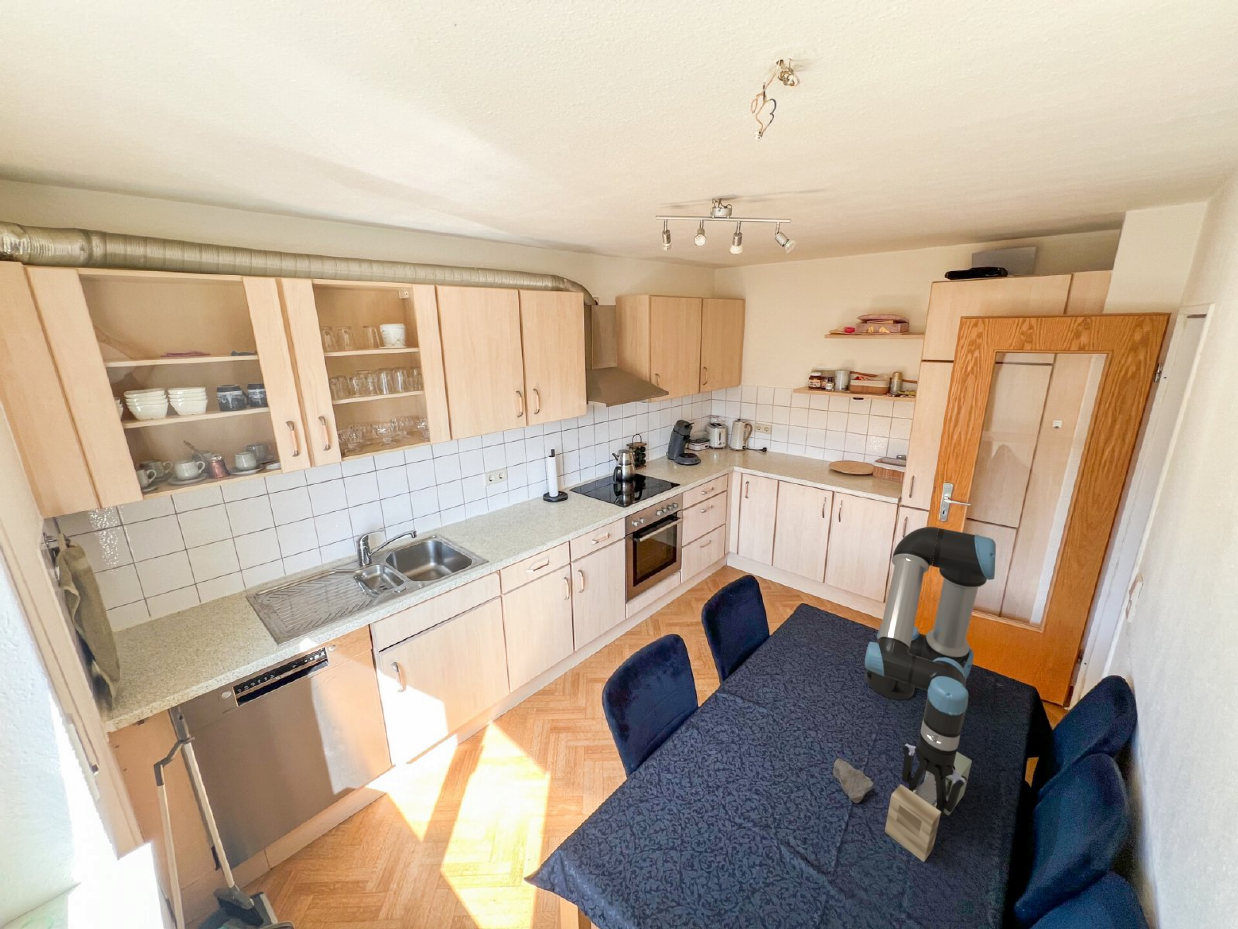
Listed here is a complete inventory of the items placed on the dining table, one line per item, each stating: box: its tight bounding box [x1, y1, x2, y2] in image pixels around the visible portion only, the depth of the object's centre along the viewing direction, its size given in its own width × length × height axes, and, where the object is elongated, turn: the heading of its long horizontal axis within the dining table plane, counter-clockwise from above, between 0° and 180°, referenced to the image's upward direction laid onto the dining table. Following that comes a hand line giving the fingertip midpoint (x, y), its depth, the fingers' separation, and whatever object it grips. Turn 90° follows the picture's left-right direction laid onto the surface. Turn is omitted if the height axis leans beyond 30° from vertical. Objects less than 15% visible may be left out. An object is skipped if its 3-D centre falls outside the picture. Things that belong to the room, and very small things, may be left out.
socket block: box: [884, 783, 941, 863], centre depth 117 cm, size 5×9×12 cm, turn 37°
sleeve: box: [923, 751, 973, 816], centre depth 129 cm, size 10×7×11 cm, turn 127°
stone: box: [832, 757, 874, 804], centre depth 132 cm, size 8×10×6 cm
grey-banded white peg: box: [915, 773, 952, 806], centre depth 123 cm, size 18×4×4 cm, turn 127°
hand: (922, 815), depth 122 cm, fingers closed on grey-banded white peg, 4 cm apart
